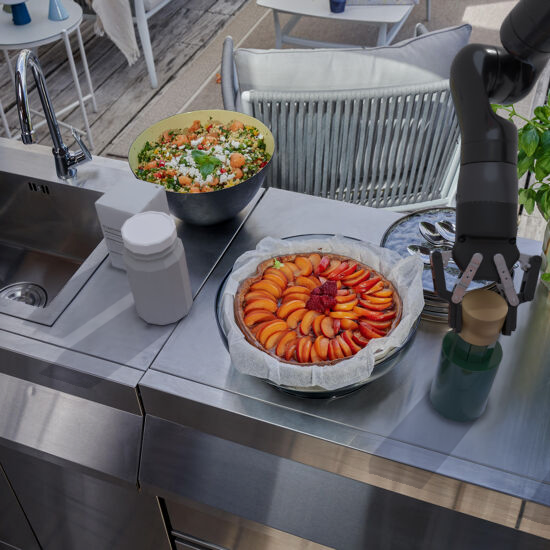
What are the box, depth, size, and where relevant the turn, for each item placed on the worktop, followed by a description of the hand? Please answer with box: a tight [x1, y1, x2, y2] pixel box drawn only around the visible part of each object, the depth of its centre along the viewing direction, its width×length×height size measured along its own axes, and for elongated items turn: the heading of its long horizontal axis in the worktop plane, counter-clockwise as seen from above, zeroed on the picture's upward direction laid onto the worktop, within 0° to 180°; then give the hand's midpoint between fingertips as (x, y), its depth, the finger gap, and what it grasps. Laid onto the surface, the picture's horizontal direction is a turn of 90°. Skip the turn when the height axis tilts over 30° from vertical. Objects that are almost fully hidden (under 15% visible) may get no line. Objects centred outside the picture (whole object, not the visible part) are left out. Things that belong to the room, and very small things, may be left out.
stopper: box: [458, 288, 508, 346], centre depth 83 cm, size 6×6×9 cm
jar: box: [121, 211, 194, 326], centre depth 104 cm, size 10×10×18 cm
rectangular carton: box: [94, 175, 171, 271], centre depth 114 cm, size 9×9×15 cm
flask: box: [429, 329, 504, 423], centre depth 89 cm, size 8×8×16 cm
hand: (481, 333), depth 82 cm, fingers closed on stopper, 5 cm apart
